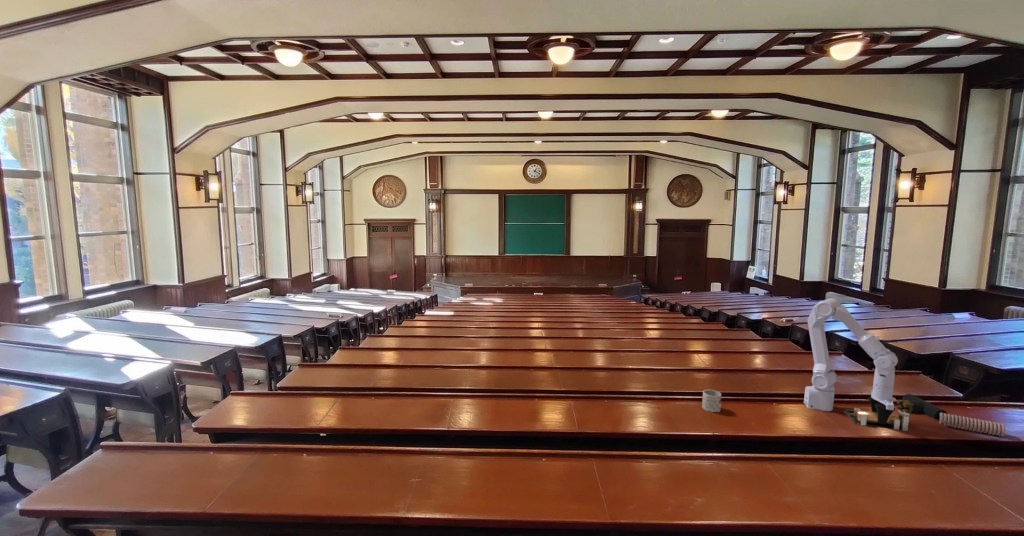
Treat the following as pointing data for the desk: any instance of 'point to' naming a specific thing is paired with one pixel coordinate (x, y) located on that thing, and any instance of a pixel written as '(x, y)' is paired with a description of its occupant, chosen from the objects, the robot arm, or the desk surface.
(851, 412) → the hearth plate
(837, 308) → the robot arm
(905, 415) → the aperture bracket
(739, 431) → the desk surface
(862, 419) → the small blocks
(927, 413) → the pipe connector
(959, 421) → the coil
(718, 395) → the mug
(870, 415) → the tube
